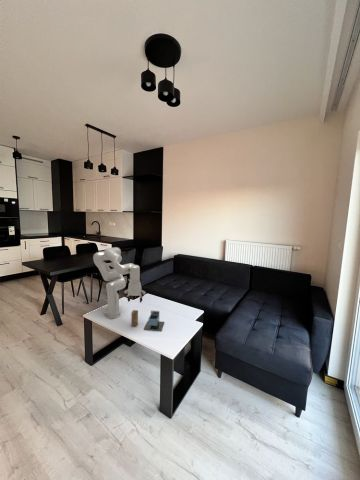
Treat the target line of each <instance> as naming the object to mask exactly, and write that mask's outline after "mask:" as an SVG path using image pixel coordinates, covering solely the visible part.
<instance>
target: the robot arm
mask: <svg viewBox="0 0 360 480" xmlns="http://www.w3.org/2000/svg"><path fill="white" fill-rule="evenodd" d="M121 254H122V250H121V248H120V247H117V246H116V247H115V246H114V247H109V248H106V249H105V250H103V251H98V252H97V251H96V252H95V253H94V254H93V257H92V259H93V262H94V264H95V266H96V267H97V268H98V270H99V272H100V274H101V276H102V279H103V280H104V281H105V282H107V283H106V285H105V288H106V293H107V309H103V314H105V318H107V319H109V320H111V319H113V320H114V319H117V318H120V316H121V314H122V312H121V311H120V296H119V293H118V291H121V290H123V289H125V288H126V286H127V283H126V279H125V277H124V276H123V275H127V274H129V278H128V279H127V281H128V287H127V289H126V290H124V291H123V292H124V294H125V296H126V298H127V302H128V303H129V302H130V301H131V297H132V296H133V297H134V296H135V297H136V296H137V297H138V296H139V303H140V304H141V303H142V302H143V297H144V296H145V295H146V291H145V290H143V289H142V285H141V283H142V282H141V280H140V278H141V277H140V276H141V275H140V273H141V271H140V270H141V269H140V268H141V267H140V266H139V265H138V264H134V263H131V262H130V263H125V264H120V263H121V262H122V260H123V257H122V255H121ZM105 261H110V262H112V267H113V268H111V267H110V265H109V264H108V263H107V262H105Z"/></svg>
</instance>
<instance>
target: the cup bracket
mask: <svg viewBox="0 0 360 480" xmlns="http://www.w3.org/2000/svg"><path fill="white" fill-rule="evenodd" d="M160 314H161V313H160V310H150V315H149V317H148V318H147V319H148V320H147V321H146V323H145V326H144V327H143V330H144V331H153V332H155V331H156V332H162V330H163V328H164V325H165V321H160Z"/></svg>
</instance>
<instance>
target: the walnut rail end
mask: <svg viewBox="0 0 360 480" xmlns="http://www.w3.org/2000/svg"><path fill="white" fill-rule="evenodd" d="M130 315H131V316H130V317H131V327H133V328H134V327H135V328H137V326H138V325H139V310H138V309H137V310H136V309H133V310H132V311H131V314H130Z"/></svg>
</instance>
